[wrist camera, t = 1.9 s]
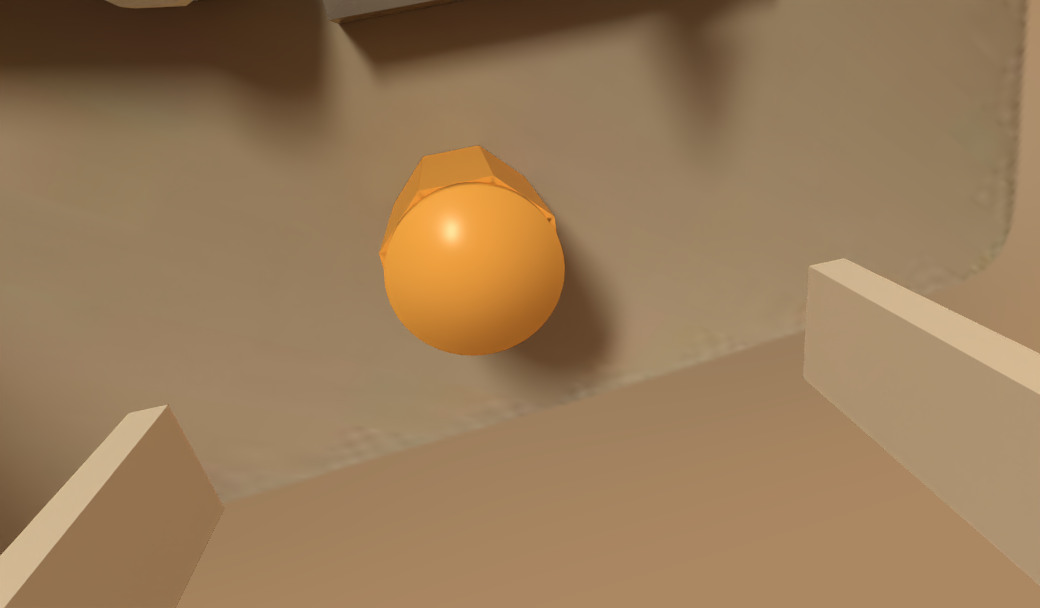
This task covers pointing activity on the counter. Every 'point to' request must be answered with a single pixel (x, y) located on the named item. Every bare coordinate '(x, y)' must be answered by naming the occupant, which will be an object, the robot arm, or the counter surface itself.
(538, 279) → the orange acorn nut
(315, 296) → the counter surface
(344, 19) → the grey slab with post
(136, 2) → the white handheld device
